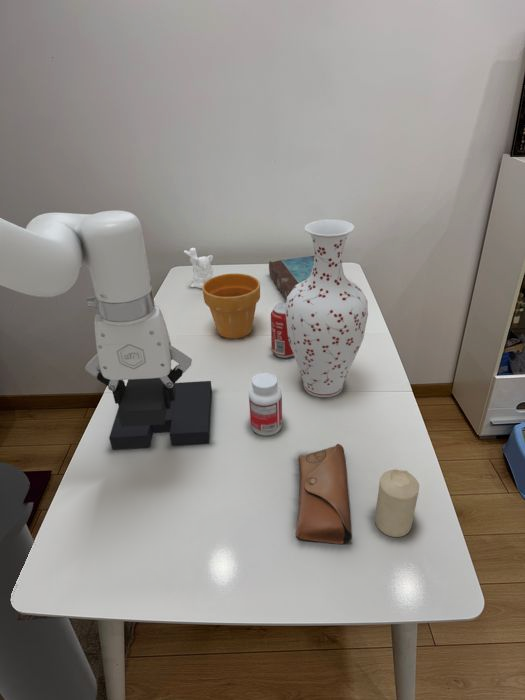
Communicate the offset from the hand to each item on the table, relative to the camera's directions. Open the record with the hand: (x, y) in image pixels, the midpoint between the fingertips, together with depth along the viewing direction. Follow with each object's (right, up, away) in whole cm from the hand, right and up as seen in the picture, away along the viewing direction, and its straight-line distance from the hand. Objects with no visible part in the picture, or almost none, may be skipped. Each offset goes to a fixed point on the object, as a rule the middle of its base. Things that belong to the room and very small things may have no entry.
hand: (146, 403), depth 77 cm
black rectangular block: (0, 0, +2) cm, 2 cm away
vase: (+31, +1, +28) cm, 42 cm away
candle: (+38, -18, -2) cm, 43 cm away
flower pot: (+11, +13, +50) cm, 53 cm away
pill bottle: (+19, -6, +18) cm, 27 cm away
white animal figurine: (0, +28, +74) cm, 79 cm away
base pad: (-1, -5, +20) cm, 21 cm away
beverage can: (+24, +8, +40) cm, 47 cm away
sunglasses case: (+28, -16, +3) cm, 32 cm away
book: (+32, +27, +70) cm, 82 cm away
